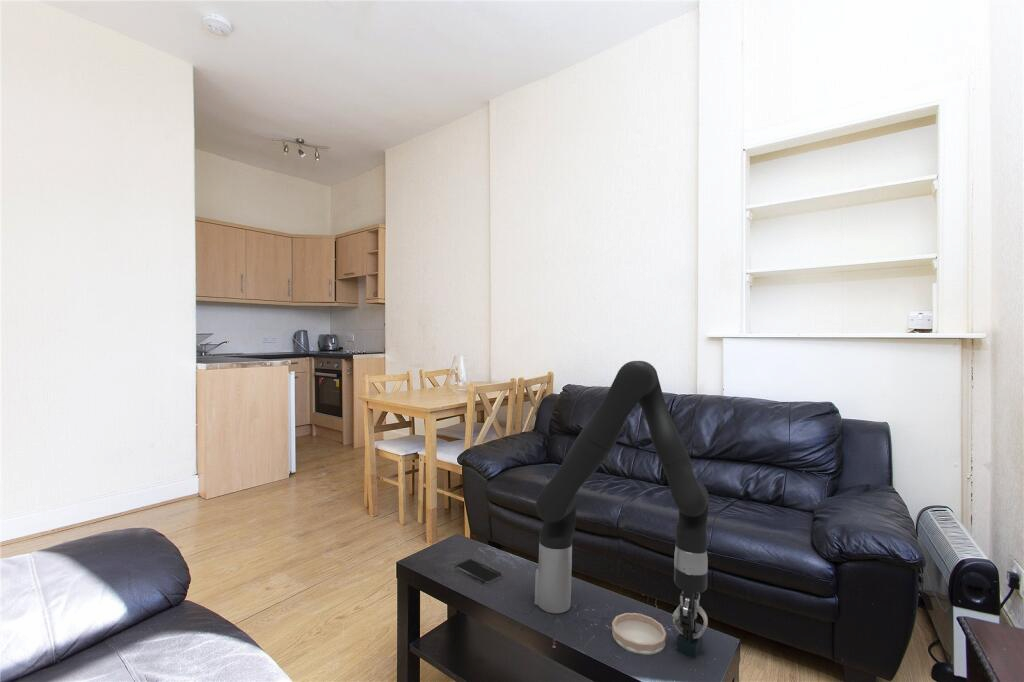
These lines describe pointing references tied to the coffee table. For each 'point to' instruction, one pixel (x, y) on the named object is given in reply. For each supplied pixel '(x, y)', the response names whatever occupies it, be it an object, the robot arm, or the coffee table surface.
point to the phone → (478, 571)
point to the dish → (638, 633)
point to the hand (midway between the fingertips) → (689, 637)
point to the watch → (694, 647)
